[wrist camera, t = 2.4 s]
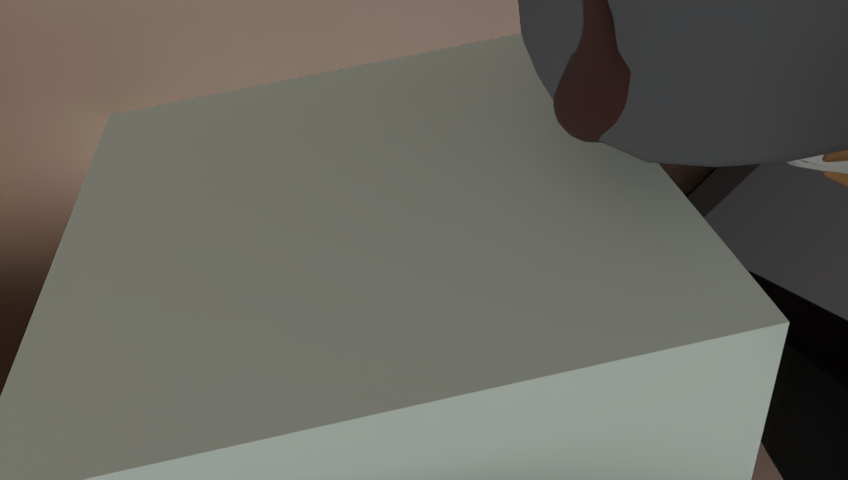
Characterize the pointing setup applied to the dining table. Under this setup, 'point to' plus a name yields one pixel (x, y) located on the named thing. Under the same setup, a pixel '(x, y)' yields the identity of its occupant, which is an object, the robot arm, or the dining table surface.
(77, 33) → the dining table surface
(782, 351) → the robot arm
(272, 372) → the cube
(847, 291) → the mat
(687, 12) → the sundae
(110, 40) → the dining table surface
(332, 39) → the dining table surface
